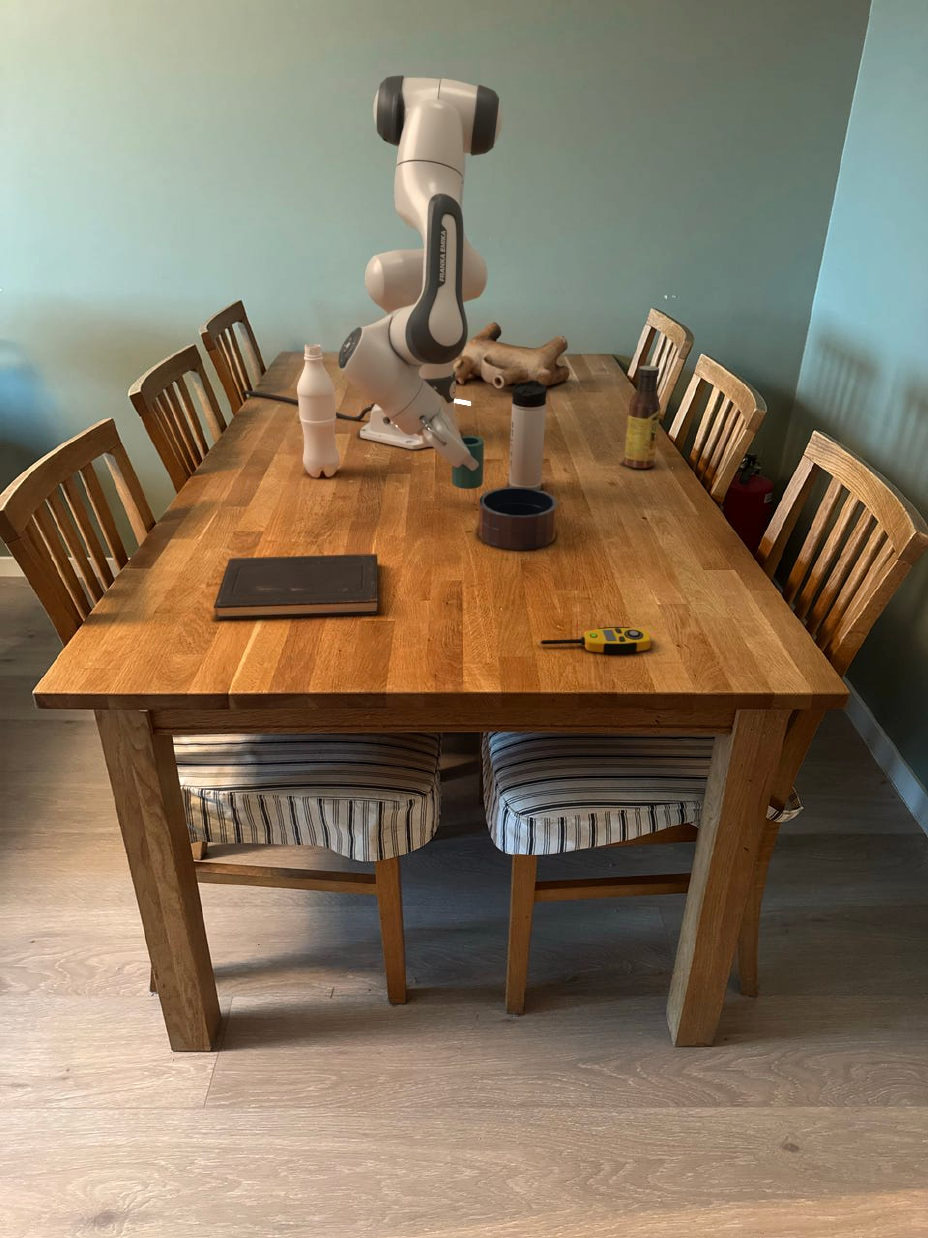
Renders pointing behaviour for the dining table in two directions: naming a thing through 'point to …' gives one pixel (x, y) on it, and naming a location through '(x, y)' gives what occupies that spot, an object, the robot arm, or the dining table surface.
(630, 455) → the sauce bottle
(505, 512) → the pot
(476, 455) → the teal hollow cylinder
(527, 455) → the travel mug
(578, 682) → the dining table surface
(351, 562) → the hardcover book
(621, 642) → the yellow walkie talkie
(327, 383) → the water bottle
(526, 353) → the ceramic vessel
